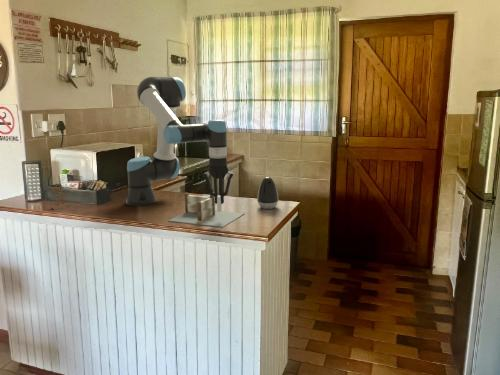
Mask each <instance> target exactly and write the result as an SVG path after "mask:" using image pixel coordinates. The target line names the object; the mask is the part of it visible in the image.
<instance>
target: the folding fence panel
mask: <svg viewBox="0 0 500 375" xmlns="http://www.w3.org/2000/svg"><path fill="white" fill-rule="evenodd" d="M211 215H213V211H212V198H208V199H205V200H203V201H201V202H197V216H198V220H202V219H204V218H206V217H209V216H211Z"/></svg>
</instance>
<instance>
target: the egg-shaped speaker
mask: <svg viewBox="0 0 500 375" xmlns="http://www.w3.org/2000/svg"><path fill="white" fill-rule="evenodd" d="M276 186H277V185H276V183H275V181H274V179H273V178H272V177H269V176H266V177H263V178H262V180H261V181H260V184H259V187H258V192H257V198H256V201H257V204H258V206H259V207H260V208H262V209H264V210H272V209H274V208H275V207H277V205H278V202H279V194H278V189H277V187H276Z"/></svg>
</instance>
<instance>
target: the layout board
mask: <svg viewBox="0 0 500 375" xmlns="http://www.w3.org/2000/svg"><path fill="white" fill-rule="evenodd" d="M242 216H245V213H243V212H234V211H223V210H222V211H221V212H218V211H217V210H215V215H211V216H209V217H206V218H204V219H202V220H198V216H197V214H194V213H187V212H183V213H181V214H179V215H177V216H174V217H172V218H171V219H168V220H167V222H170V223H179V224H189V225H196V226H204V227H214V228H222V229H223V228H225V227H226V226H228V225H230V224H231V223H233V222H235V221H236V220H237V219H240V218H241V217H242Z"/></svg>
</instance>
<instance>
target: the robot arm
mask: <svg viewBox="0 0 500 375" xmlns="http://www.w3.org/2000/svg"><path fill="white" fill-rule="evenodd" d="M136 90H137V91H136V95H137V99H138V100H139V102H140V104H142V106H144V107H146V108H147V109H148V110H149V111H150V113H151V114H152V115H153V117H154V118H155V119H156V121H157V124H158V125H157V138H156V139H157V140H156V141H157V144H156V151H155V152H154V153H153V158H151V157H149V156H139V157H134V158H130V159H129V160H128V161H127V164H126V171H127V172H126V173H127V182H128V183H127V184H128V190H127V196H126V198H125V200H126V201H125V202H126V205H128V206H131V207H132V206H133V207H139V206H140V207H143V206H149V205H153V204H155V203H157V197H156V195H155V193H154V192H155V191H154V189H153V184H152V183H153V182H155V181H157V182H158V181H165V180H167V181H168V180H171V179H175V178H176V177H177V176H178V174H179V173H180V168H181V167H180V161H179V158H178V157H177V155H176V153H174V152H175V151H174V149H175V145H178V144H187V143H196V142H197V143H198V142H208V156H209V158H208V161H209V166H208V167H209V168H208V171H206V172H204V173H203V177H204V178H205V180H206V185H207V187H208V191H209V196H210V195H213V196H214V200H215V205H217V206H216V207H217V208H216V209H217V210H216V211H218V212H221V211H223V206H222V205H223V204H224V202H225V196H228V194H229V190H230V186H231V185H230V184H231V181H232V178H233V176H234V172H231V171H230V170H229V168H228V158H227V156H228V150H227V149H228V148H227V146H228V145H227V142H228V141H227V136H228V135H227V122H226V120H225V119H210V120H208V121H207V123H205V122H204V123H203V122H200V123H199V122H198V123H194V124H193V123H192V124H183V123H182V122H181V120H179V118H178V117H177V110H178V108H180V106H181V102H184V101H185V99H186V96H187V95H186V94H187V93H186V92H187V91H186V86H185V84H184V82H183V80H182V79H181V78H180V77H176V76H175V77H174V76H149V77H148V76H147V77H145V78H143V80H141V81H140V83H139V85H138V86H137V89H136ZM226 175H227V177H228V178H227V182H226V185H225V184H224V180H225V179H224V178H225V177H226ZM210 176H211V177H212V178H213V186H212V182H211V178H210ZM218 179H219V182H218ZM218 183H219V184H218ZM218 185H219V186H218ZM224 187H225V188H224ZM219 189H220V190H219ZM224 189H225V190H224ZM219 191H220V192H219ZM219 193H220V195H219Z"/></svg>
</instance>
